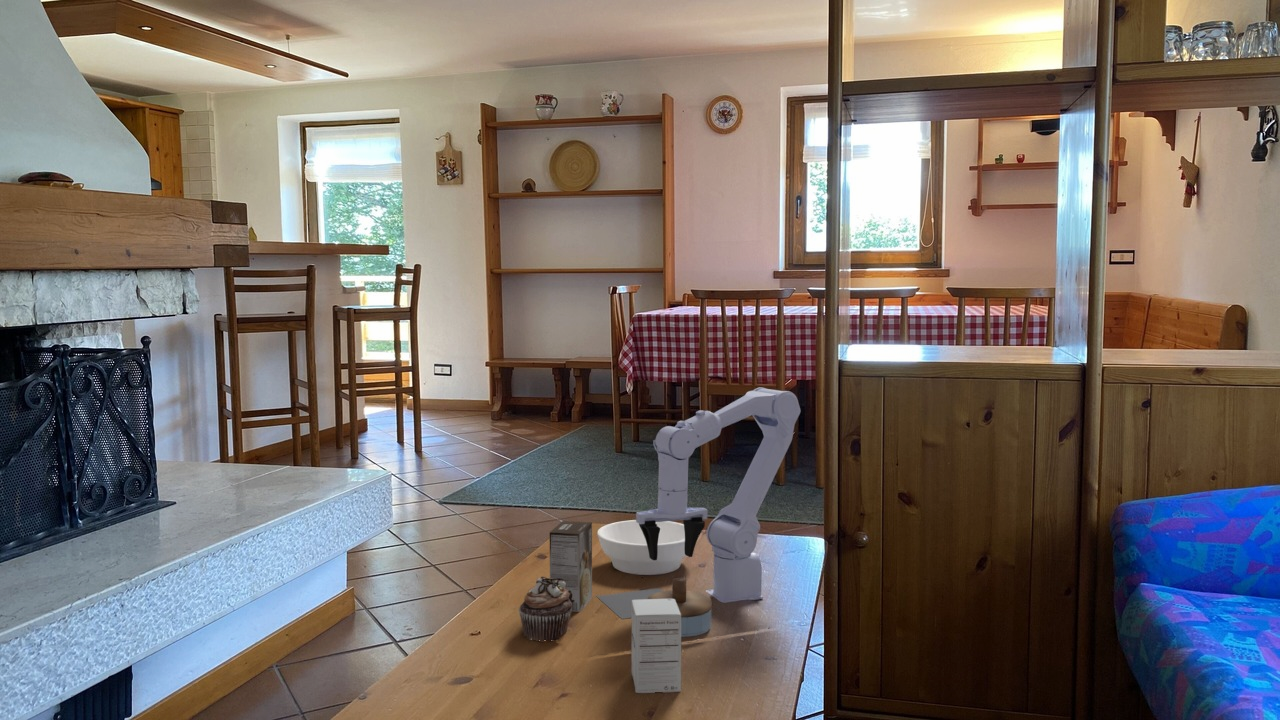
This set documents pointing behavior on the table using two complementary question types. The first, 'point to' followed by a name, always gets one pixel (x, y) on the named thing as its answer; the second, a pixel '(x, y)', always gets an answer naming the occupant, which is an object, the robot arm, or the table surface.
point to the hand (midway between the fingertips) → (671, 557)
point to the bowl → (643, 547)
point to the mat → (625, 601)
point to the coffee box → (573, 560)
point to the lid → (685, 599)
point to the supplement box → (656, 645)
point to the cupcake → (546, 610)
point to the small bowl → (695, 624)
